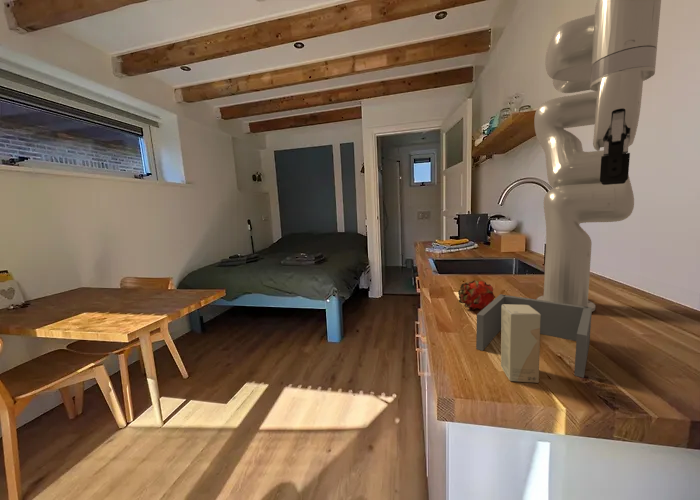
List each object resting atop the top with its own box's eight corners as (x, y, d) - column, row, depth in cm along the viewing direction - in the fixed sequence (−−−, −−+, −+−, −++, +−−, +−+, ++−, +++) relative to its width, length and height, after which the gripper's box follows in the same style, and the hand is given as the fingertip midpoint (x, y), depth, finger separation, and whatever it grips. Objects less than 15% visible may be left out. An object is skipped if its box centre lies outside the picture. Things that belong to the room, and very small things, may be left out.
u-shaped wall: (499, 323, 69) (500, 294, 68) (589, 341, 58) (591, 307, 57) (476, 349, 57) (476, 314, 56) (583, 377, 46) (586, 335, 45)
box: (539, 384, 45) (542, 314, 44) (508, 381, 46) (510, 313, 45) (526, 366, 50) (529, 303, 49) (499, 364, 51) (500, 303, 50)
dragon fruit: (457, 318, 77) (486, 315, 84) (483, 306, 71) (511, 303, 77) (445, 288, 81) (473, 287, 87) (468, 274, 75) (496, 274, 81)
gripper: (593, 93, 55) (587, 186, 57) (587, 61, 42) (580, 183, 45) (650, 80, 50) (641, 183, 52) (663, 40, 37) (650, 177, 40)
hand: (613, 183), depth 49 cm, fingers open, 9 cm apart
